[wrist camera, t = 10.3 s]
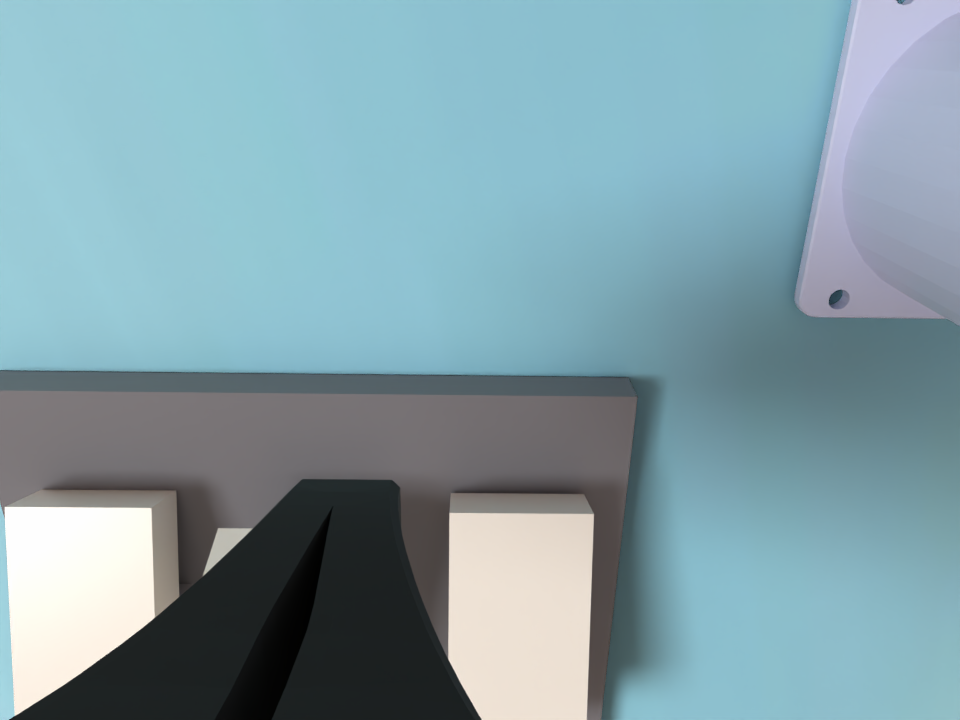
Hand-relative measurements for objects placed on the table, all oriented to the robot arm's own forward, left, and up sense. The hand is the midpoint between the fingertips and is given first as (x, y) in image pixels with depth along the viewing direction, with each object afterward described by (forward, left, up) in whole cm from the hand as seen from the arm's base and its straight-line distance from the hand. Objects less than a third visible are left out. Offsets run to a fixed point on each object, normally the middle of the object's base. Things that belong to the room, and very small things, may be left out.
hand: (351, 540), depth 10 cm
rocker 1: (+8, +9, -7) cm, 13 cm away
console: (+3, +9, -10) cm, 13 cm away
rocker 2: (-3, +9, -7) cm, 11 cm away
